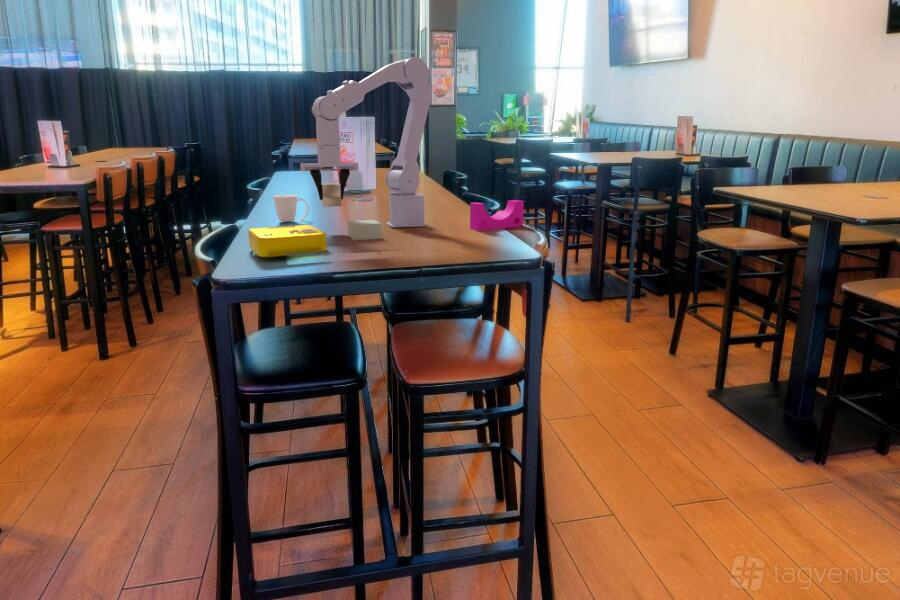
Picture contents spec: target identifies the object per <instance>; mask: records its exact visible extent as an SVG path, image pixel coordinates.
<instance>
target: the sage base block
mask: <svg viewBox="0 0 900 600" xmlns="http://www.w3.org/2000/svg"><path fill="white" fill-rule="evenodd" d="M347 229H348V230H347V233H348V237H349V238H351V240H352V241H359V240H360V241H361V240H362V241H363V240H377V239H378V240H381V239H382V238H383V235H382V231H383V230H382V223H381V222H379V221H377V220H376V219H366V220H365V219H364V220H348V221H347Z"/></svg>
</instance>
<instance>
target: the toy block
mask: <svg viewBox="0 0 900 600" xmlns="http://www.w3.org/2000/svg"><path fill="white" fill-rule="evenodd" d="M524 202H525V201H524V200H517V199H512V200H507V203H506V207H505V208H504V209H503V210H497V211H496V213H494V214H492V215H489V213H488V212H487V210H486V206H485V203H483V202H476V201H475V202H469V203H470V205H469V207H470V210H469V213H470V215H469V216H470V217H469V230H472V229H473V231H475V230H477V231H476V232H480V231H479V230H484V231H488V230H487V229H493V230H500V229H501V230H502V229H508V228H518V227H522V226H521V225H523V226H524V206H525V205H524ZM497 228H499V229H497Z"/></svg>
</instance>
